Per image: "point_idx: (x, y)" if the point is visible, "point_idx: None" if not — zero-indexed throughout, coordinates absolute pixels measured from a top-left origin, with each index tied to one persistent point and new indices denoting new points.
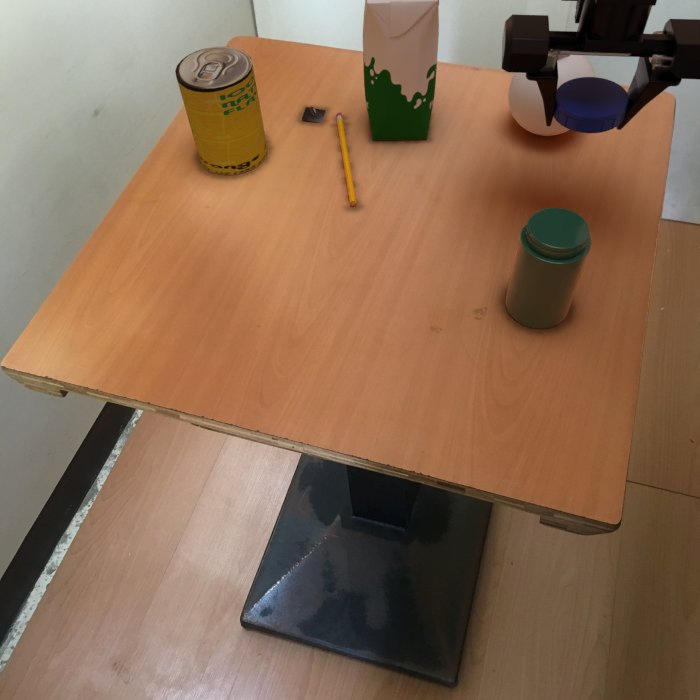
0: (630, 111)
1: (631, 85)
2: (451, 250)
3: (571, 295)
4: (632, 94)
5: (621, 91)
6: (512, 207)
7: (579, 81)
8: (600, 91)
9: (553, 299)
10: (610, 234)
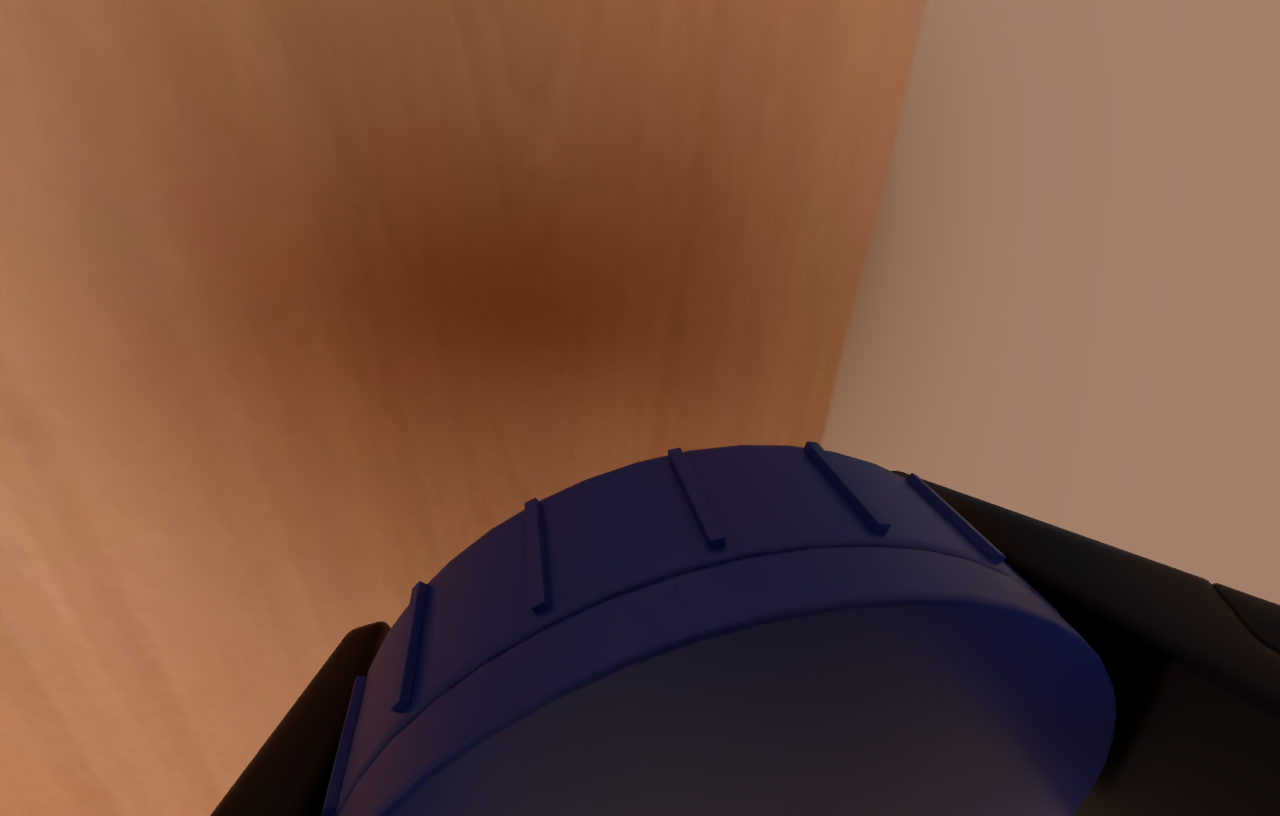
0: None
1: (1228, 732)
2: (259, 613)
3: None
4: (1157, 808)
5: (1069, 734)
6: (373, 364)
7: (579, 758)
8: (852, 806)
9: None
10: (728, 380)
